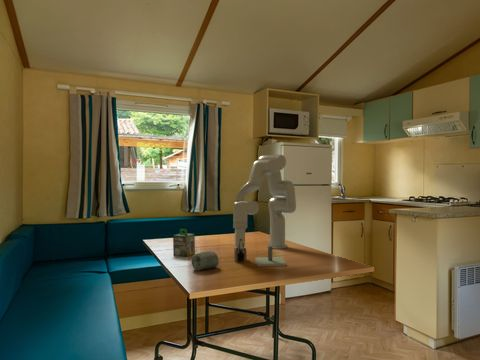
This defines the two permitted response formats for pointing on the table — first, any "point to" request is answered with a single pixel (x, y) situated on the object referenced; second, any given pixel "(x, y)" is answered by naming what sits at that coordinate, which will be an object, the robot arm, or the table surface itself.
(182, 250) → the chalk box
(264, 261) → the post board
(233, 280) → the table surface
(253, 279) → the table surface
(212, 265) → the grey green cylinder
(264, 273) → the table surface
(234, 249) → the collar
